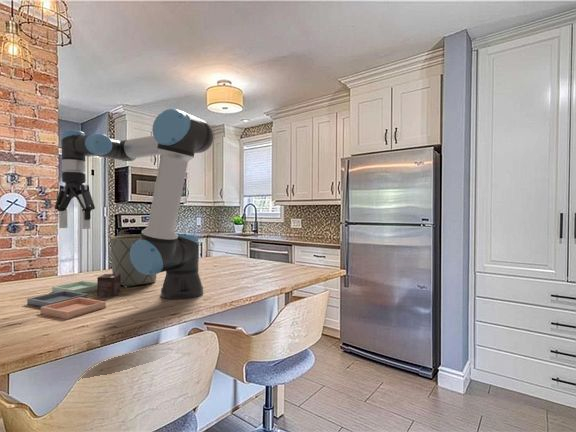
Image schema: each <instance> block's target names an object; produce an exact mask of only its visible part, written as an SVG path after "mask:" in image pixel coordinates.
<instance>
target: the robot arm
mask: <svg viewBox="0 0 576 432" xmlns="http://www.w3.org/2000/svg"><path fill="white" fill-rule="evenodd" d="M151 133H152V135H150V136H149V135H147V136H143V137H135V138H131V139H125V140H120V139H115V138H110V137H109V136H107V134H104V133H91V134H85V132H84V131H81V130H76V129H65V130H62V132H61V140H60V142H61V171H63V172H62V173H61V181H62V183H65V185H59V189H58V190H59V191H58V195H57V198H56V201H55V205H54V210H57V211H58V228H59V229H67V228H68V209H67V208H68V206H69V204H70V203H71V201H72V199H73V198H76V200H77V202H78V203H79V205H80V207H81V208H82V209H81V230H88V229H91V211H92V210H95V209H96V207H95V203H94V200H93V197H92V194H91V191H90V185H89V184H85V183H86V180H87V179H86V173H85V172H86V157H87V156H88V157H89V156H94V157H95V156H96V157H102V158H107V159H108V158H109V159H113V160H119V161H123V162H133V161H135V160H137V159H139V158H147V157H154V156H155V157H156V156H160V159H159V164H158V169H157V175H156V179H155V185H154V191H153V196H152V201H151V208H150V211H149V212H150V213H149V218H148V223H147V227H145V228H144V229H142V230H141V232H140V233H141V234H140V235H141V238H140V240H137V241H136V242H135V243H134V244H133V245H132V246H131V249H130V259H131V262H132V264H133V265H134V268H135V269H136V270H137V271H138V272H140V273H142V274H145V275H150V274H156V275H157V274H160V273H163V272H166V273H165V277H164V281H163V284H162V287H161V289H160V296H161V297H162V298H164V299H167V300H168V299H169V300H186V299H194V298H197V297H200V296H202V295H203V294H204V287H203V284H202V281H201V277H200V273H199V259H200V258H199V254H200V253H199V246H200V244H199V243H200V242H199V237H198V235H197V234H194V233H183V232H182V233H181V232H176V231H175V230H176V225H177V220H178V215H179V214H178V213H179V210H180V205H181V201H182V194H183V191H184V190H183V189H184V184H185V180H186V179H185V178H186V174H187V170H188V165H189V163H188V162H189V161H191V160H193V159H194V157H195V154H201V153H205V152H206V151H208V150H209V148H211V147H212V145H213V143H214V131H213V128H212V127H211V126H210V124H209V123H207V122H206V121H205V120H203V119H201V118H198V117H196V116H195V115H191V114H190V113H187V112H185V111H183V110H179V109H177V108H168V109H165V110H163V111H162V112H161V113H159V114H158V115H157V116H156V117H155V119H154V121H153V124H152V132H151Z"/></svg>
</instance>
